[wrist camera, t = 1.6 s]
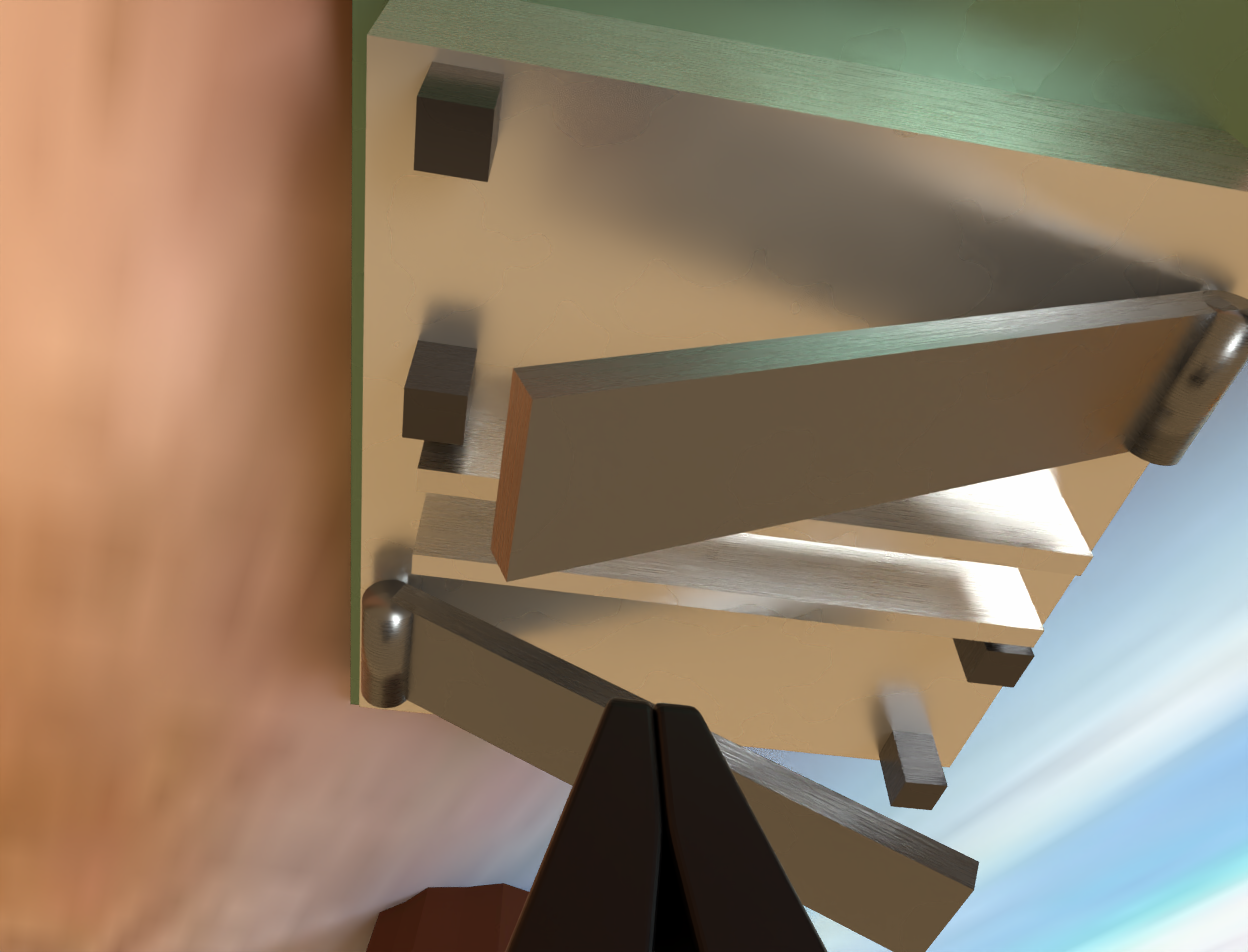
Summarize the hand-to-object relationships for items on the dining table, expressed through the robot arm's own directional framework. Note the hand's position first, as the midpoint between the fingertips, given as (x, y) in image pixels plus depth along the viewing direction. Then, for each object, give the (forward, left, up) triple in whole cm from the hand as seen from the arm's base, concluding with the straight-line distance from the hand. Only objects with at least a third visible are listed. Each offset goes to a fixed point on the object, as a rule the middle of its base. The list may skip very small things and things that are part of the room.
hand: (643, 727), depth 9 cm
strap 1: (-4, 0, -6) cm, 7 cm away
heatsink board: (-3, +5, -13) cm, 14 cm away
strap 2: (-2, +9, -6) cm, 11 cm away
